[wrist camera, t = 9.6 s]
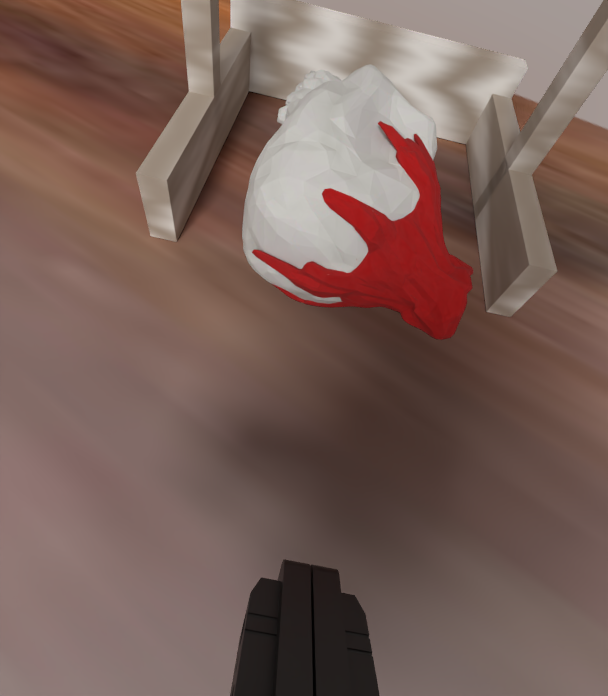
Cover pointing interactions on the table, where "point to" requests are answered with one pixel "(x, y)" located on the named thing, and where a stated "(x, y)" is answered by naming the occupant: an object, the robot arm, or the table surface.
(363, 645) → the robot arm
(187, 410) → the table surface
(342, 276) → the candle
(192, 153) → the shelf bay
